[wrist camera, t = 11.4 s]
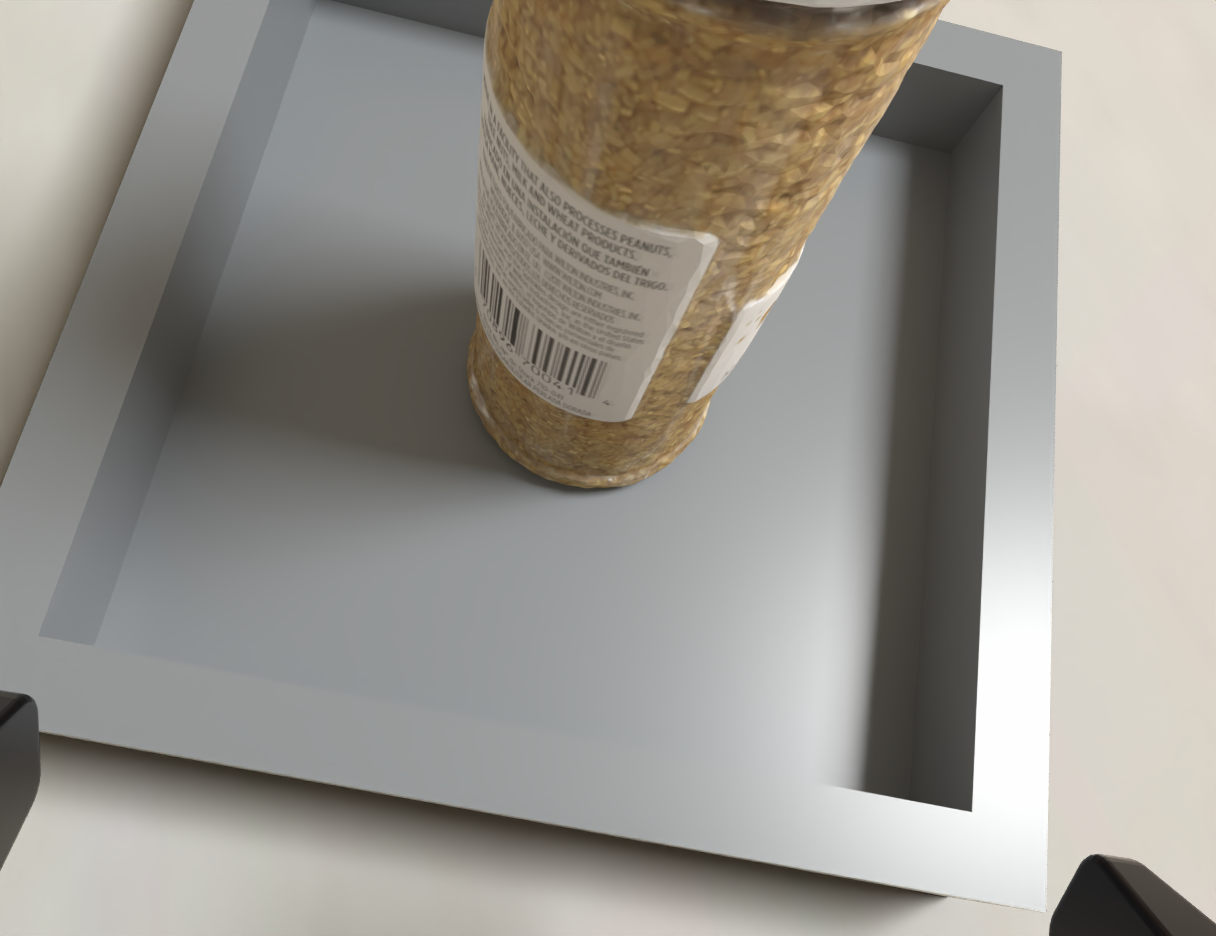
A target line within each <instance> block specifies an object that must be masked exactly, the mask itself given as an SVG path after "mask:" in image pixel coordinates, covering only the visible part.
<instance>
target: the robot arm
mask: <svg viewBox="0 0 1216 936" xmlns="http://www.w3.org/2000/svg"><path fill="white" fill-rule="evenodd" d="M40 771H41V769H40V744H39V719H38V708H37V704H36V702H35V700H34V699H33V698H32V697H30V696H29V695H27V694H22V693H16V692H9V691H2V690H0V871H1V869H2V866H3V864H4V862H5V860H6V858H7V856H8V854H9V852H10V850H11V848H12V846H13V844H14V842H15V840H16V838H17V836H18V834H19V831H20V829H21V827H22V825H23V823H24V821H25V819H26V817H27V815H28V813H29V811H30V809H31V807H32V805H33V802H34V800H35V797H36V794H37V791H38V787H39V782H40ZM1049 936H1216V924H1215V923H1214V922H1213V921H1212V920H1210V919H1209V918H1208V917H1207V916H1206V915H1204V914H1203V913H1202V912H1201V911H1199V910H1198V909H1197V908H1196V907H1195V906H1193V905H1192V904H1191V903H1190V902H1188V901H1187V900H1186V899H1185V898H1184V897H1182V896H1181V895H1180V894H1179V893H1177V892H1176V891H1175V890H1174V889H1173V888H1171V887H1170V886H1169V885H1168V884H1166V883H1165V882H1164V881H1163V880H1161V879H1160V878H1159V877H1158V876H1157V875H1155V874H1154V873H1153V872H1152V871H1150V870H1149V869H1148V868H1147V867H1146V866H1144V865H1143V864H1141V863H1140V862H1138V861H1135V860H1132V859H1129V858H1122V857H1115V856H1109V855H1102V854H1094V855H1090V856H1088V857H1087V858H1086V859H1084V860H1083V861H1082V862H1081V864H1080V865H1079V867H1078V869H1077V871H1076V873H1075V875H1074V876H1073V878H1072V880H1071V882H1070V884H1069V886H1068V887H1067V889H1066V891H1065V893H1064V895H1063V897H1062V898H1061V900H1060V902H1059V904H1058V906H1057V908H1056V909H1055V911H1054V913H1053V916H1052V919H1051V923H1050V929H1049Z"/></svg>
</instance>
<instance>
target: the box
mask: <svg viewBox="0 0 1216 936" xmlns="http://www.w3.org/2000/svg"><path fill="white" fill-rule="evenodd" d="M492 3H493V0H194V2H193V4H192V7H191V9H190V12H189V14H188V17H187V19H186V22H185V24H184V27H183V29H182V32H181V34H180V37H179V39H178V42H177V44H176V47H175V49H174V52H173V54H172V57H171V59H170V62H169V64H168V67H167V70H166V72H165V75H164V77H163V80H162V82H161V85H160V87H159V90H158V92H157V95H156V97H155V100H154V102H153V105H152V107H151V110H150V112H149V115H148V117H147V120H146V122H145V125H144V127H143V130H142V132H141V135H140V137H139V140H138V142H137V145H136V147H135V150H134V152H133V155H132V157H131V160H130V163H129V165H128V168H127V170H126V173H125V175H124V178H123V180H122V183H121V185H120V188H119V190H118V193H117V195H116V198H115V200H114V203H113V205H112V208H111V210H110V213H109V215H108V218H107V220H106V223H105V225H104V228H103V230H102V233H101V235H100V238H99V240H98V243H97V245H96V248H95V250H94V253H93V256H92V258H91V261H90V263H89V266H88V268H87V271H86V273H85V276H84V278H83V281H82V283H81V286H80V288H79V291H78V293H77V296H76V298H75V301H74V303H73V306H72V308H71V311H70V313H69V316H68V318H67V321H66V323H65V326H64V328H63V331H62V333H61V336H60V338H59V341H58V343H57V346H56V349H55V351H54V354H53V356H52V359H51V361H50V364H49V366H48V369H47V371H46V374H45V376H44V379H43V381H42V384H41V386H40V389H39V391H38V394H37V396H36V399H35V401H34V404H33V406H32V409H31V411H30V414H29V416H28V419H27V421H26V424H25V426H24V429H23V431H22V434H21V436H20V439H19V441H18V444H17V447H16V449H15V452H14V454H13V457H12V459H11V462H10V464H9V467H8V469H7V472H6V474H5V477H4V479H3V482H2V484H1V487H0V690H2V691H9V692H16V693H22V694H27V695H29V696H30V697H32V698H33V699H34V700H35V702H36V704H37V708H38V719H39V732H41V733H46V734H52V735H57V736H63V737H68V738H74V739H79V740H85V741H90V742H96V743H101V744H107V745H113V746H118V747H124V748H129V749H135V750H140V751H146V752H151V753H157V754H162V755H168V756H173V757H179V758H184V759H190V760H195V761H201V762H206V763H212V764H218V765H223V766H229V767H234V768H240V769H245V770H251V771H256V772H262V773H267V774H273V775H278V776H284V777H289V778H295V779H300V780H306V781H311V782H317V783H322V784H328V785H334V786H339V787H345V788H350V789H356V790H361V791H367V792H372V793H378V794H383V795H389V796H394V797H400V798H405V799H411V800H416V801H422V802H427V803H433V804H439V805H444V806H450V807H455V808H461V809H466V810H472V811H477V812H483V813H488V814H494V815H499V816H505V817H510V818H516V819H521V820H527V821H532V822H538V823H543V824H549V825H555V826H560V827H566V828H571V829H577V830H582V831H588V832H593V833H599V834H604V835H610V836H615V837H621V838H626V839H632V840H637V841H643V842H648V843H654V844H660V845H665V846H671V847H676V848H682V849H687V850H693V851H698V852H704V853H709V854H715V855H720V856H726V857H731V858H737V859H742V860H748V861H753V862H759V863H764V864H770V865H776V866H781V867H787V868H792V869H798V870H803V871H809V872H814V873H820V874H825V875H831V876H836V877H842V878H847V879H853V880H858V881H864V882H869V883H875V884H881V885H886V886H892V887H897V888H903V889H908V890H914V891H919V892H925V893H930V894H936V895H941V896H947V897H953V898H959V899H965V900H971V901H977V902H984V903H990V904H996V905H1002V906H1009V907H1015V908H1021V909H1027V910H1034V911H1040V912H1046V889H1047V834H1048V779H1049V724H1050V669H1051V614H1052V559H1053V504H1054V449H1055V394H1056V339H1057V284H1058V229H1059V174H1060V119H1061V64H1062V52H1061V51H1057V50H1053V49H1049V48H1045V47H1042V46H1038V45H1034V44H1030V43H1026V42H1022V41H1019V40H1015V39H1011V38H1007V37H1003V36H999V35H995V34H992V33H988V32H984V31H980V30H976V29H972V28H968V27H965V26H961V25H957V24H953V23H949V22H945V21H942V20H938V19H937V22H936V24H935V26H934V28H933V29H932V31H931V33H930V35H929V37H928V39H927V41H926V42H925V44H924V45H923V47H922V48H921V50H920V51H919V53H918V55H917V56H916V58H915V60H914V62H913V63H912V65H911V66H910V68H909V69H908V70H907V72H906V74H905V76H904V78H903V80H902V82H901V84H900V86H899V89H898V91H897V92H896V94H895V96H894V97H893V99H892V101H891V102H890V104H889V106H888V107H887V109H886V111H885V113H884V115H883V116H882V118H881V119H880V121H879V122H878V124H877V125H876V126H875V128H874V129H873V131H872V133H871V134H870V136H869V138H868V139H867V141H866V143H865V144H864V146H863V147H862V149H861V151H860V152H859V154H858V155H857V156H856V158H855V159H854V161H853V163H852V165H851V167H850V168H849V170H848V171H847V173H846V174H845V176H844V177H843V179H842V181H841V183H840V185H839V186H838V188H837V190H836V192H835V194H834V196H833V198H832V199H831V201H830V202H829V204H828V205H827V207H826V209H825V211H824V212H823V214H822V215H821V217H820V219H819V220H818V222H817V224H816V226H815V228H814V229H813V231H812V232H811V234H810V235H809V236H808V238H807V240H806V242H805V245H804V248H803V252H802V254H801V257H800V259H799V262H798V264H797V266H796V267H795V269H794V271H793V273H792V274H791V276H790V278H789V280H788V281H787V283H786V285H785V286H784V288H783V290H782V292H781V293H780V295H779V297H778V298H777V300H776V301H775V303H774V304H773V306H772V308H771V309H770V311H769V313H768V314H767V316H766V318H765V320H764V321H763V323H762V325H761V326H760V328H759V330H758V331H757V333H756V335H755V336H754V338H753V340H752V341H751V343H750V344H749V346H748V348H747V349H746V351H745V352H744V354H743V355H742V357H741V358H740V360H739V361H738V363H737V364H736V365H735V367H734V368H733V370H732V371H731V372H730V374H729V375H728V376H727V377H726V378H725V379H724V380H723V381H722V382H721V383H720V384H719V386H718V388H717V390H716V392H715V393H714V394H713V396H712V397H711V401H710V405H709V408H708V411H707V415H706V418H705V420H704V422H703V425H702V427H701V429H700V431H699V433H698V434H697V435H696V437H695V438H694V440H693V441H692V442H691V443H690V444H689V445H688V446H687V447H686V448H685V450H684V451H683V452H682V453H681V454H679V455H678V456H677V457H676V458H675V459H674V460H673V461H672V462H671V463H670V464H669V465H668V466H666V467H665V468H663V469H662V470H660V471H659V472H657V473H655V474H653V475H652V476H650V477H648V478H646V479H644V480H642V481H639V482H637V483H635V484H632V485H628V486H622V487H608V488H599V487H594V488H582V487H577V486H570V485H565V484H562V483H558V482H555V481H551V480H547V479H545V478H543V477H541V476H539V475H537V474H534V473H533V472H531V471H530V470H528V469H527V468H525V467H524V466H523V465H521V464H520V463H518V462H516V461H514V460H513V459H512V458H511V457H510V456H508V455H507V454H506V453H505V452H504V451H503V450H502V449H501V448H500V447H499V445H498V443H497V441H496V440H495V439H494V438H493V437H492V436H491V435H490V434H489V433H488V432H487V430H486V429H485V427H484V425H483V423H482V420H481V418H480V416H479V415H478V413H477V412H476V410H475V408H474V406H473V403H472V399H471V395H470V390H469V386H468V376H467V360H468V350H469V344H470V340H471V337H472V335H473V334H474V331H475V330H476V319H477V304H476V296H475V288H474V264H475V235H476V209H477V184H478V158H479V138H480V118H481V98H482V77H483V55H484V39H485V32H486V24H487V19H488V15H489V12H490V8H491V6H492Z"/></svg>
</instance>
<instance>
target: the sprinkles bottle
mask: <svg viewBox="0 0 1216 936" xmlns="http://www.w3.org/2000/svg"><path fill="white" fill-rule="evenodd" d="M949 1H950V0H493V3H492V6H491V8H490V12H489V15H488V19H487V24H486V32H485V39H484V55H483V77H482V98H481V118H480V138H479V158H478V184H477V209H476V235H475V264H474V288H475V296H476V304H477V319H476V330H475V331H474V334H473V335H472V337H471V340H470V344H469V350H468V360H467V376H468V386H469V390H470V395H471V399H472V403H473V406H474V408H475V410H476V412H477V413H478V415H479V416H480V418H481V420H482V423H483V425H484V427H485V429H486V430H487V432H488V433H489V434H490V435H491V436H492V437H493V438H494V439H495V440H496V441H497V443H498V445H499V447H500V448H501V449H502V450H503V451H504V452H505V453H506V454H507V455H508V456H510V457H511V458H512V459H513V460H514V461H516V462H518V463H520V464H521V465H523V466H524V467H525V468H527V469H528V470H530V471H531V472H533V473H534V474H537V475H539V476H541V477H543V478H545V479H547V480H551V481H555V482H558V483H562V484H565V485H570V486H577V487H582V488H594V487H599V488H608V487H622V486H628V485H632V484H635V483H637V482H639V481H642V480H644V479H646V478H648V477H650V476H652V475H653V474H655V473H657V472H659V471H660V470H662V469H663V468H665V467H666V466H668V465H669V464H670V463H671V462H672V461H673V460H674V459H675V458H676V457H677V456H678V455H679V454H681V453H682V452H683V451H684V450H685V448H686V447H687V446H688V445H689V444H690V443H691V442H692V441H693V440H694V438H695V437H696V435H697V434H698V433H699V431H700V429H701V427H702V425H703V422H704V420H705V418H706V415H707V411H708V408H709V405H710V401H711V397H712V396H713V394H714V393H715V392H716V390H717V388H718V386H719V384H720V383H721V382H722V381H723V380H724V379H725V378H726V377H727V376H728V375H729V374H730V372H731V371H732V370H733V368H734V367H735V365H736V364H737V363H738V361H739V360H740V358H741V357H742V355H743V354H744V352H745V351H746V349H747V348H748V346H749V344H750V343H751V341H752V340H753V338H754V336H755V335H756V333H757V331H758V330H759V328H760V326H761V325H762V323H763V321H764V320H765V318H766V316H767V314H768V313H769V311H770V309H771V308H772V306H773V304H774V303H775V301H776V300H777V298H778V297H779V295H780V293H781V292H782V290H783V288H784V286H785V285H786V283H787V281H788V280H789V278H790V276H791V274H792V273H793V271H794V269H795V267H796V266H797V264H798V262H799V259H800V257H801V254H802V252H803V248H804V245H805V242H806V240H807V238H808V236H809V235H810V234H811V232H812V231H813V229H814V228H815V226H816V224H817V222H818V220H819V219H820V217H821V215H822V214H823V212H824V211H825V209H826V207H827V205H828V204H829V202H830V201H831V199H832V198H833V196H834V194H835V192H836V190H837V188H838V186H839V185H840V183H841V181H842V179H843V177H844V176H845V174H846V173H847V171H848V170H849V168H850V167H851V165H852V163H853V161H854V159H855V158H856V156H857V155H858V154H859V152H860V151H861V149H862V147H863V146H864V144H865V143H866V141H867V139H868V138H869V136H870V134H871V133H872V131H873V129H874V128H875V126H876V125H877V124H878V122H879V121H880V119H881V118H882V116H883V115H884V113H885V111H886V109H887V107H888V106H889V104H890V102H891V101H892V99H893V97H894V96H895V94H896V92H897V91H898V89H899V86H900V84H901V82H902V80H903V78H904V76H905V74H906V72H907V70H908V69H909V68H910V66H911V65H912V63H913V62H914V60H915V58H916V56H917V55H918V53H919V51H920V50H921V48H922V47H923V45H924V44H925V42H926V41H927V39H928V37H929V35H930V33H931V31H932V29H933V28H934V26H935V24H936V22H937V19H938V17H939V15H940V13H941V11H942V9H943V8H944V7H945V6H946V4H947V3H948V2H949Z"/></svg>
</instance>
